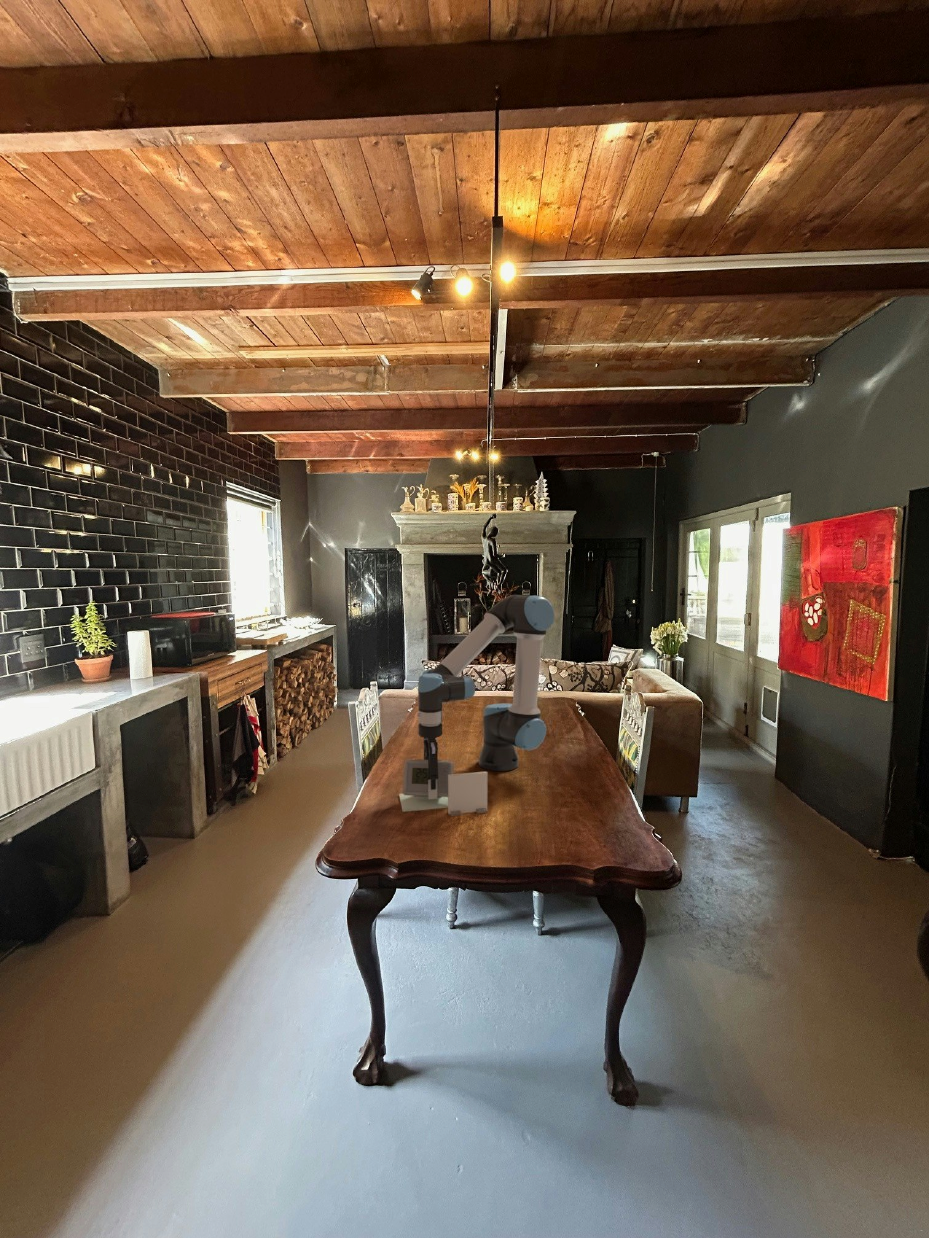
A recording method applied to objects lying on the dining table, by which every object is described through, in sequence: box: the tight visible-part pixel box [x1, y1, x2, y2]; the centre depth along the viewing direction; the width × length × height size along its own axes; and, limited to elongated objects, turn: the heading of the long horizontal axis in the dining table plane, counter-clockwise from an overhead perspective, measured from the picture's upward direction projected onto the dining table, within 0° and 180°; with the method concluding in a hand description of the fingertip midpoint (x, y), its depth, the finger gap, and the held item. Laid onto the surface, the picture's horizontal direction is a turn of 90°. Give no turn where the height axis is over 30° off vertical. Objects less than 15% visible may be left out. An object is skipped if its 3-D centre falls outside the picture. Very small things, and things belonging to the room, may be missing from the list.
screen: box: [447, 771, 488, 817], centre depth 163 cm, size 12×4×12 cm, turn 102°
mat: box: [398, 793, 448, 812], centre depth 171 cm, size 19×12×1 cm, turn 102°
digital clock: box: [402, 758, 455, 798], centre depth 170 cm, size 16×9×11 cm, turn 73°
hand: (430, 792), depth 171 cm, fingers closed on digital clock, 8 cm apart
